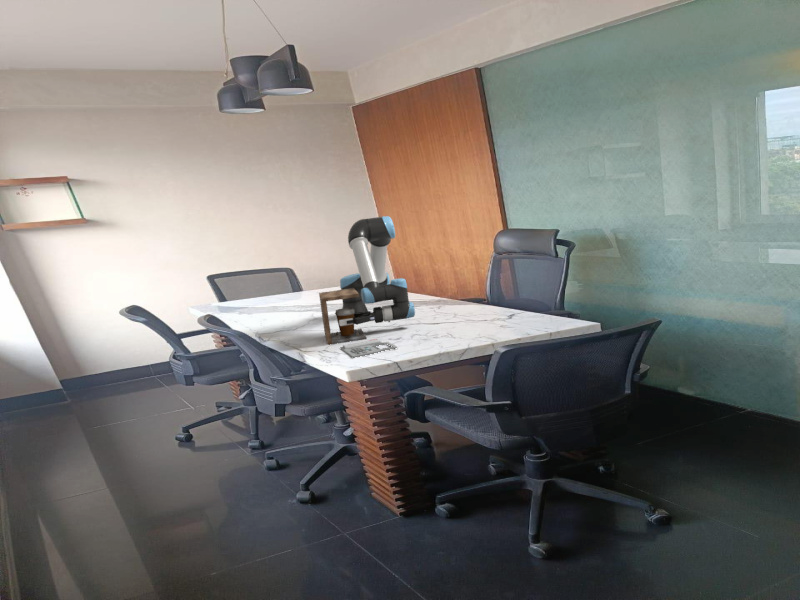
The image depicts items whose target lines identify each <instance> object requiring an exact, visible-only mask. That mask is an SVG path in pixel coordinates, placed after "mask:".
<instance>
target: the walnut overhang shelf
mask: <svg viewBox="0 0 800 600" xmlns="http://www.w3.org/2000/svg"><path fill="white" fill-rule="evenodd" d="M318 295H319V301H320V309H321V315H322V322H323V330H324V331H323V332H324V337H325V341H326V343H327V346H330V344H331V345H337V343H338V344H343V343H350V341H351V342H358V341H363V340H364V341H365V340H367V338H368V337H367V335H366V334H365V333H364V331H363V330H362V328H357V329H355V328H354V334H352V335H348V336H342V335H341V333H340V331H339V332H338V331H336V332H331V326H330V325H331V324H330V319H329V313H328V312H329V311H328V310H329V309H328V304H327V303H328V302H331V301H338V300H342V299H347V298H354V297H359V293H358V292H357V291H356V290H355V289H354V288H350V289H343V290H341V289H338V290H332V291H331V290H329V291H324V292H319V293H318Z"/></svg>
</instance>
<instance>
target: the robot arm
mask: <svg viewBox="0 0 800 600" xmlns="http://www.w3.org/2000/svg"><path fill="white" fill-rule="evenodd" d="M347 236H348V237H347V241H348V246H349V248H350V249H351V250H352V253H353V257H354V259H355V263H356V266H357V270H358V273H352V274H348V275H346V276H344V277H341V279H340V280H339V284H340V285H339V288H340V290H343V289H350V288H354V289H355V290H356V291H357V292H358V293H359V297H354V298H347V299H341V300H342V307H341V309H343V308H354V311H355V313H354V317H353V318H350V319H344V320H339V325H340V326H344V325H351V324H354V325H357V326H358V325H361V324H365V323H369V322H374V323H375V324H379V323H383V322H388V323H391V321H398V320H399V321H401V320H406V319H410V318H413V317H415V315H416V310H415V309H416V308H415V305H414V302H412V301H410V300H409V292H408V291H409V290H408V283H407V280H406V279H405V278H404V277H403V278H393V279H390V275H389V273H388V272H386V263H387V262H386V260H387V252H388V251H387V250H388V246H389V244H390V243H391V240H393V239H395V238H396V229H395V225H394V222H393V219H392V218H391V217H390V216H388V215H385V216H377V217H370V218H362V219H359V220H357V221H355V223H353V225H352V226H351V227H350V229H349V231H348V235H347ZM369 244H370V249H369V247H368V245H369ZM389 301H392V304H389V305H382V306H375V307H373V309H372V312H371V311H370V310H368V307H367V306H366V305H368V304H374V303H380V302H389ZM339 325H338V326H339Z"/></svg>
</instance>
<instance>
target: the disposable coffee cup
mask: <svg viewBox="0 0 800 600" xmlns="http://www.w3.org/2000/svg"><path fill="white" fill-rule="evenodd" d="M354 313H355V311H354V308H343V309H342V308H339V309H336V310H335V313H334V314H335V316H336V321H337V324H338V327H339V332H340V333H341V335H342V336H348V335H352V334H354V330H355V324H351V325H344V326H340V325H339V320H344V319H350V318H353V317H354Z"/></svg>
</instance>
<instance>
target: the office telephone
mask: <svg viewBox="0 0 800 600" xmlns="http://www.w3.org/2000/svg"><path fill="white" fill-rule="evenodd" d="M384 344H388V345H390V346H392V347H390V346H388V345H387V346H388V347H385V348H380V346H379V345H382V346H385V345H384ZM376 346H377V347H376ZM340 348H341V349H340ZM340 348H339V349H340V350H341V351H343V352H344V351H345V352H344V353H346V354H347V353H348V354H347V355H349V356H350V357H351V358H352V357H353V358H352V359H356V358H355V357H357V358H361V357H360V356H362V357H366V356H365V355H367V356H371V355H370V354H372V355H375V354H374V353H377V354H379V353H378V352H380V353H382V352H381V351H384V352H386V351H385V350H389V351H391V350H390V349H394V348H397V349H398V346H397V345H395V344H393V343H392V342H389V341H383V342H382V341H380V340H379V339H378V338H373V339H370V340H369V339H368V340H366V341H365V340H364V341H359V342H354V343H350V344H343V345H342V346H340Z"/></svg>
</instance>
